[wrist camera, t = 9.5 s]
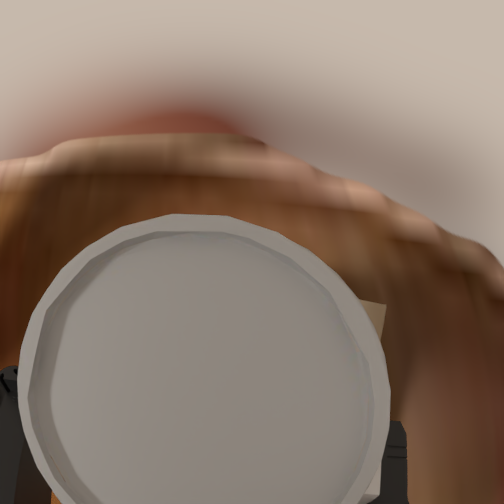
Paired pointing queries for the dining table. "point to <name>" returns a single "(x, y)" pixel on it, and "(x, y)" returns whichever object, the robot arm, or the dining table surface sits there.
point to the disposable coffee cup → (202, 371)
